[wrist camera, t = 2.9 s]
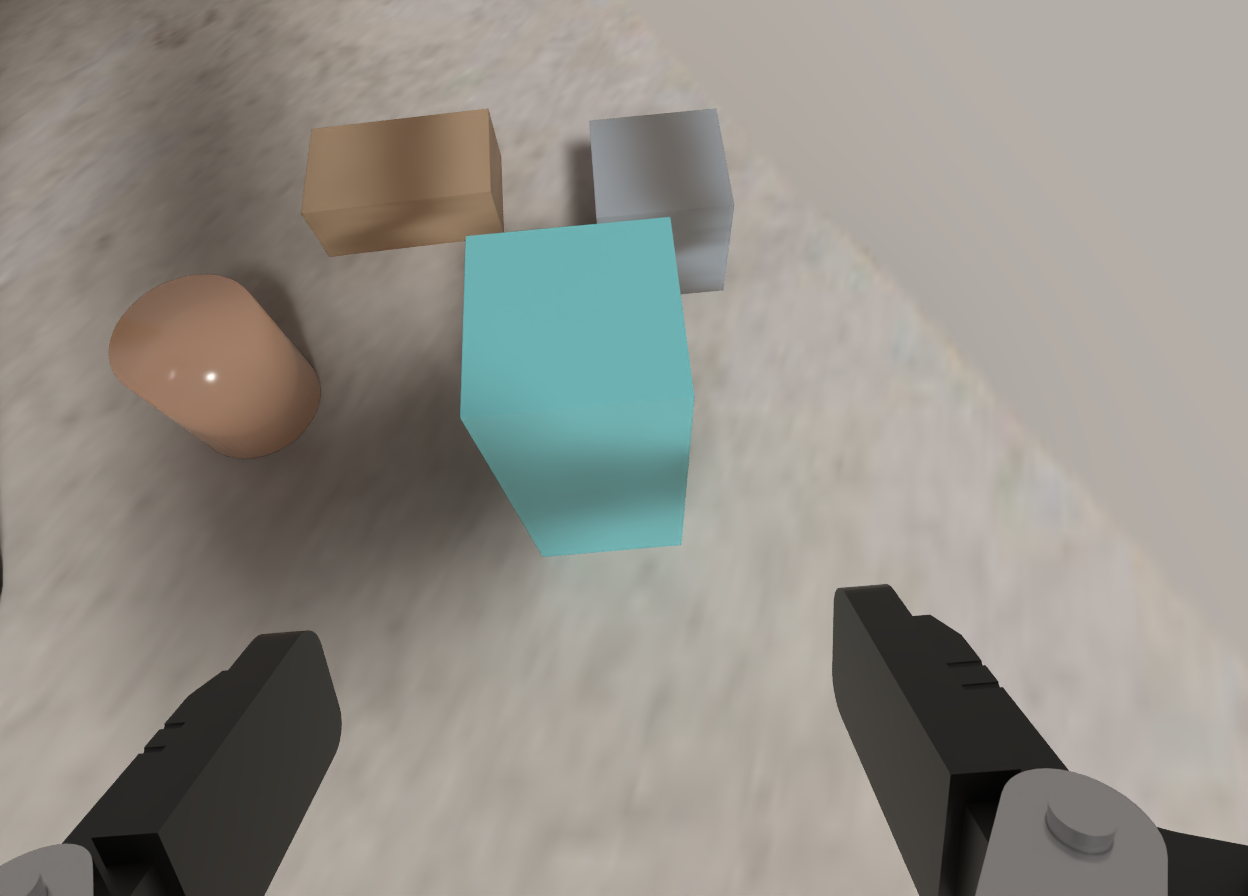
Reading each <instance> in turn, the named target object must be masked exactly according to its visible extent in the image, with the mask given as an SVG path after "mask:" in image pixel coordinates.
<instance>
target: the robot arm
mask: <svg viewBox="0 0 1248 896" xmlns="http://www.w3.org/2000/svg"><path fill="white" fill-rule="evenodd" d="M832 676H833V686H834V692H835V698H836V702H837V706H838V709H839V712H840V715H841V717H842V719H843V722H844V724H845V726H846V729H847V731H848V733H849V735H850V738H851V740H852V742H853V745H854V747H855V749H856V752H857V754H858V756H859V758H860V761H861V763H862V765H863V768H864V770H865V772H866V774H867V777H868V779H869V781H870V784H871V786H872V788H873V791H874V793H875V795H876V797H877V800H878V802H879V804H880V807H881V809H882V811H883V813H884V816H885V818H886V820H887V823H888V825H889V827H890V829H891V832H892V834H893V836H894V839H895V841H896V843H897V846H898V848H899V850H900V852H901V855H902V857H903V859H904V862H905V864H906V866H907V868H908V871H909V873H910V875H911V878H912V880H913V882H914V885H915V887H916V889H917V891H918V894H919V896H1248V846H1247V845H1241V844H1236V843H1231V842H1226V841H1220V840H1215V839H1210V838H1204V837H1199V836H1194V835H1189V834H1183V833H1178V832H1174V831H1170V830H1166V829H1162V828H1159V827H1156V825H1155V824H1154V823H1153V822H1152V820H1151V819H1150V818H1149V817H1148V816H1147V815H1146V814H1145V813H1144V812H1143V811H1142V810H1141V809H1140V808H1139V807H1138V806H1137V805H1136V804H1135V803H1133V802H1132V801H1131V800H1130V799H1128V798H1127V797H1126V796H1124V795H1123V794H1121V793H1120V792H1118V791H1116V790H1115V789H1113V788H1111V787H1109V786H1108V785H1106V784H1104V783H1102V782H1100V781H1097V780H1095V779H1092V778H1090V777H1088V776H1085V775H1081V774H1078V773H1075V772H1071V771H1069V770H1068V769H1067V768H1066V766H1065V765H1064V764H1063V763H1062V761H1061V760H1060V759H1059V758H1058V756H1057V755H1056V754H1055V753H1054V751H1053V750H1052V749H1051V747H1050V746H1049V745H1048V744H1047V742H1046V741H1045V740H1044V739H1043V737H1042V736H1041V735H1040V734H1039V732H1038V731H1037V730H1036V729H1035V727H1034V726H1033V725H1032V724H1031V722H1030V721H1029V720H1028V718H1027V717H1026V716H1025V715H1024V713H1023V712H1022V711H1021V710H1020V708H1019V707H1018V706H1017V705H1016V703H1015V702H1014V701H1013V700H1012V698H1011V697H1010V696H1009V694H1008V693H1007V692H1006V691H1005V689H1004V688H1003V687H999V684H998V681H997V679H996V678H995V677H994V676H993V674H992V673H991V672H990V671H989V669H988V668H987V667H986V665H984V666H983V665H982V662H981V659H980V658H979V657H978V655H977V654H976V653H975V652H974V650H973V649H972V648H971V647H970V645H969V644H968V643H967V641H966V640H965V639H964V638H963V636H962V635H961V634H959V633H958V632H956V631H954V630H953V629H951V628H950V627H948V626H947V625H945V624H944V623H942V622H941V621H939V620H938V619H936V618H934V617H933V616H931V615H921V616H912V615H911V613H910V612H909V611H908V609H907V608H906V606H905V605H904V604H903V602H902V601H901V599H900V598H899V597H898V595H897V594H896V592H895V591H894V590H893V588H892V587H891V586H890V585H888V584H882V585H870V586H858V587H846V588H838V589H837V590H836V592H835V596H834V617H833V660H832ZM341 725H342V721H341V711H340V707H339V704H338V700H337V697H336V693H335V690H334V686H333V683H332V680H331V676H330V673H329V669H328V666H327V662H326V659H325V656H324V652H323V649H322V645H321V642H320V640H319V638H318V636H317V635H316V634H315V633H314V632H313V631H296V632H284V633H272V634H261V635H259V636H257V637H256V638H255V639H254V640H253V641H252V642H251V643H250V644H249V645H248V647H247V648H246V649H245V650H244V651H243V653H242V654H241V655H240V656H239V658H238V659H237V660H236V661H235V662H234V664H233V665H232V666H231V667H230V669H229V670H228V671H222V672H220V673H219V674H218V675H216V676H215V677H213V678H212V679H211V680H209V681H208V682H207V683H205V684H204V685H203V686H201V687H200V688H198V689H197V690H196V691H194V692H193V693H192V694H190V695H189V696H188V697H187V698H186V699H185V700H184V702H183V703H182V704H181V705H180V706H179V707H178V709H177V710H176V711H175V712H174V713H173V714H172V716H171V717H170V718H169V719H168V720H167V721H166V723H165V727H164V729H161V730H159V731H158V732H157V733H156V734H155V735H154V737H153V738H152V739H151V740H150V741H149V742H148V744H147V745H146V746H145V747H144V753H143V754H138V755H137V757H136V758H135V759H134V760H133V761H132V762H131V764H130V765H129V766H128V767H127V768H126V769H125V771H124V772H123V773H122V774H121V775H120V776H119V778H118V779H117V780H116V781H115V782H114V783H113V785H112V786H111V787H110V788H109V789H108V790H107V792H106V793H105V794H104V795H103V796H102V797H101V799H100V800H99V801H98V802H97V803H96V804H95V806H94V807H93V808H92V809H91V810H90V811H89V813H88V814H87V815H86V816H85V817H84V818H83V820H82V821H81V822H80V823H79V824H78V825H77V827H76V828H75V829H74V830H73V831H72V832H71V834H70V835H69V836H68V837H67V838H66V839H65V841H64V842H63V843H62V844H57V845H51V846H47V847H43V848H40V849H37V850H34V851H31V852H28V853H26V854H23V855H21V856H19V857H17V858H14V859H13V860H11V861H9V862H7V863H5V864H3V865H1V866H0V896H264V895H265V893H266V891H267V889H268V887H269V885H270V883H271V881H272V879H273V877H274V875H275V873H276V871H277V869H278V867H279V865H280V863H281V861H282V859H283V857H284V855H285V853H286V851H287V849H288V847H289V845H290V843H291V842H292V840H293V838H294V836H295V834H296V832H297V830H298V828H299V826H300V824H301V822H302V820H303V818H304V816H305V814H306V812H307V810H308V808H309V806H310V804H311V802H312V800H313V798H314V796H315V794H316V792H317V790H318V788H319V786H320V784H321V782H322V780H323V778H324V776H325V774H326V772H327V770H328V768H329V766H330V764H331V762H332V760H333V758H334V756H335V754H336V751H337V749H338V746H339V742H340V736H341Z"/></svg>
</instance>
